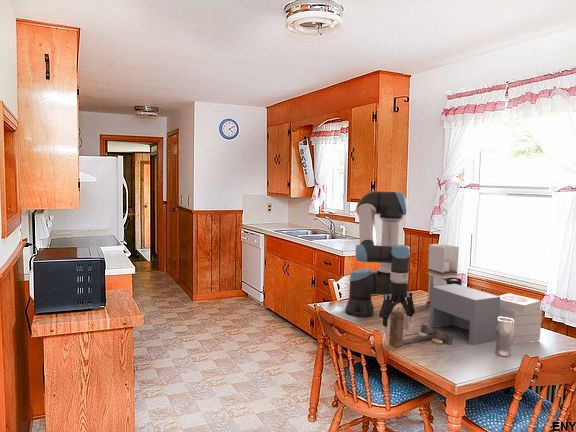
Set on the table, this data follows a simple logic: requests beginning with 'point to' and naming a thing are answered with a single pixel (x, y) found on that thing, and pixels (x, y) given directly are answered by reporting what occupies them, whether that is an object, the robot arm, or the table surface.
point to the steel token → (422, 333)
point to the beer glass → (504, 336)
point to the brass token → (437, 340)
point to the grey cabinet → (465, 311)
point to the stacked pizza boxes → (522, 316)
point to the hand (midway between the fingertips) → (396, 331)
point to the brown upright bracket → (397, 338)
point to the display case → (441, 265)
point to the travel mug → (454, 281)
